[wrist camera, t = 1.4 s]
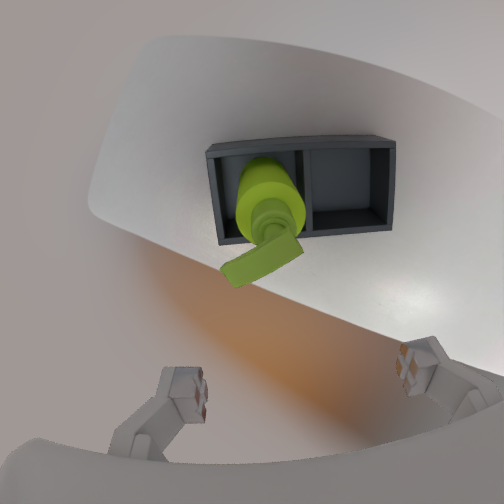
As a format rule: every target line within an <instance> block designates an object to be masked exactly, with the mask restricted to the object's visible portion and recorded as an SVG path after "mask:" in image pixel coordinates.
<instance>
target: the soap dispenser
mask: <svg viewBox="0 0 504 504" xmlns="http://www.w3.org/2000/svg"><path fill="white" fill-rule="evenodd" d="M305 218H306V209H305V205H304V202H303V200H302V198H301V196H300V195H299V193H298V191H297V189H296V187H295V186H294V184H293V182H292V181H291V179H290V177H289V175H288V174H287V172H286V170H285V168H284V167H283V166H282V164H281V163H279V162H278V161H277V160H275V159H273V158H270V157H258V158H254V159H252V160H251V161H249V162H248V163H247V164H246V165H245V166H244V167H243V169H242V171H241V174H240V179H239V188H238V197H237V206H236V222H237V225H238V228H239V230H240V232H241V233H242V235H243V236H244V237H245V238H246V239H247V240H249V241H250V242H251V243H253V244H255V245H257V246H256V247H254V248H253V249H251V250H249V251H248V252H246V253H244V254H242V255H241V256H239V257H237V258H235V259H233V260H231V261H229V262H226V263H225V264H224V265H223V266H222V267H221V268H220V270H221V272H222V273H223V274H224V275H225V277H226V278H227V279H228V281H229V282H230V283H231V284H232V285H233V287H234V288H238V287H241V286H243V285H246V284H249V283H251V282H253V281H256V280H258V279H260V278H262V277H264V276H266V275H268V274H269V273H271V272H273V271H275V270H276V269H278V268H280V267H282V266H283V265H285V264H286V263H288V262H290V261H291V260H293V259H295V258H296V257H298V256H299V255H301V254H302V253H304V251H303V249H302V247H301V245H300V244H299V242H298V241H297V239H296V237H297V235H298V234H299V233H300V232H301V230H302V228H303V226H304V223H305Z"/></svg>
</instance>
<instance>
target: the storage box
mask: <svg viewBox="0 0 504 504" xmlns="http://www.w3.org/2000/svg"><path fill="white" fill-rule="evenodd" d="M205 153H206V161H207V168H208V175H209V183H210V190H211V197H212V204H213V211H214V217H215V224H216V231H217V237H218V244H219V246H221V245H231V244H242V243H251V242H250V241H249V240H247V239H246V238H245V237H244V236H243V235H242V233H241V232H240V230H239V228H238V225H237V222H236V206H237V197H238V188H239V179H240V174H241V171H242V169H243V167H244V166H245V165H246V164H247V163H248V162H249V161H251V160H252V159H254V158H258V157H270V158H273V159H275V160H277V161H278V162H279V163H281V164H282V166H283V167H284V168H285V170H286V172H287V174H288V175H289V177H290V179H291V181H292V182H293V184H294V186H295V187H296V189H297V191H298V193H299V195H300V196H301V198H302V200H303V202H304V205H305V209H306V218H305V223H304V226H303V228H302V230H301V232H300V233H299V234H298V235H297V237H296V239H297V238H308V237H319V236H331V235H342V234H354V233H366V232H378V231H390V230H392V224H393V211H394V195H395V170H396V141H393V140H390V139H386V138H383V137H379V136H376V135H320V136H298V137H282V138H268V139H256V140H246V141H236V142H227V143H219V144H212V145H211V146H210V148H209V149H208V150H207V151H206V152H205Z"/></svg>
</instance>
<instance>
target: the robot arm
mask: <svg viewBox="0 0 504 504" xmlns="http://www.w3.org/2000/svg"><path fill="white" fill-rule="evenodd" d="M400 351H401V354H400V355H399V357H398V358H397V362H396V369H397V373H398V376H399V378H400V379H402V380H404V384H403V387H404V389H405V391H406V393H407V395H408V397H411V396H415V395H419V394H423V393H425V394H426V395H427V396H429V397H430V398H431V399H432V400H434V401H435V402H436V403H438V404H439V405H440V406H441V407H443V408H444V409H445V410H446V411H448V412H449V413H450V414H451V415H453V417H452V418H451V420H450V421H449V423H448V424H447V425H445V426H442V427H439V428H436V429H433V430H430V431H427V432H424V433H421V434H418V435H415V436H412V437H408V438H405V439H401V440H398V441H394V442H391V443H386V444H383V445H378V446H375V447H370V448H365V449H361V450H356V451H351V452H346V453H341V454H335V455H329V456H323V457H316V458H309V459H301V460H293V461H282V462H272V463H254V464H188V463H187V464H186V463H172V462H169V461H168V460H167V459H166V457H165V456H164V455H163V453H162V452H163V451H164V449H165V448H166V447H167V446H168V445H169V443H170V442H171V441H172V440H173V439H174V437H175V436H176V435H177V434H178V432H179V431H180V430H181V429H182V427H183V426H184V424H187V423H188V424H194V423H195V424H197V423H205V418H206V408H205V405H204V404H205V403H206V402H207V399H208V389H207V384H206V380H205V379H203V371H202V368H201V367H164V368H163V370H162V373H161V377H160V381H159V384H158V388H157V392H156V396H155V397H151V398H150V399H149V400H148V401H147V402H146V403H145V404H144V405H143V406H141V407H140V408H139V409H138V410H137V411H136V412H135V413H134V414H132V415H131V416H130V417H129V418H128V419H127V420H126V421H124V422H123V423H122V424H121V425H120V426H119V427H118V428H116V429H115V431H114V434H113V437H112V440H111V444H110V447H109V450H108V454H103V453H98V452H93V451H88V450H83V449H79V448H74V447H70V446H66V445H63V444H58V443H55V442H51V441H48V440H45V439H41V438H34V439H32V440H29V441H28V442H26V443H25V444H23V445H21V446H20V447H18V448H17V449H15V450H14V451H12V452H11V453H10V454H9V455H8V456H7V458H6V459H5V461H4V463H3V464H2V466H1V468H0V504H504V399H503V397H502V396H501V394H500V392H499V391H498V389H497V387H496V386H495V384H494V383H493V381H492V380H490V379H488V378H486V377H484V376H482V375H480V374H479V373H477V372H475V371H473V370H471V369H469V368H468V367H466V366H464V365H462V364H460V363H458V362H456V361H455V360H450V359H449V357H448V355H447V354H446V352H445V351H444V349H443V348H442V346H441V345H440V343H439V341H438V340H437V338H436V337H435V336H430V337H426V338H421V339H417V340H413V341H408V342H404V343H402V345H401V347H400Z"/></svg>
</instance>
